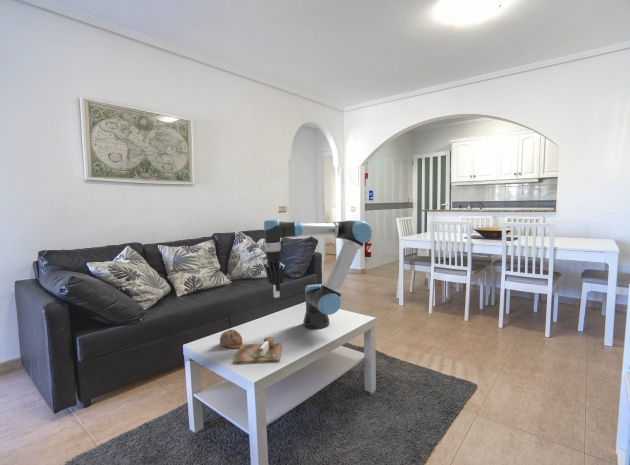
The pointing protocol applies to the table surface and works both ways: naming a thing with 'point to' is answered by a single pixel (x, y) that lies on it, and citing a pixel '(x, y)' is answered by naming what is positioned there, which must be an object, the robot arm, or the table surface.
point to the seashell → (231, 339)
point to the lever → (266, 345)
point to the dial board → (257, 354)
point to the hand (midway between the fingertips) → (276, 297)
